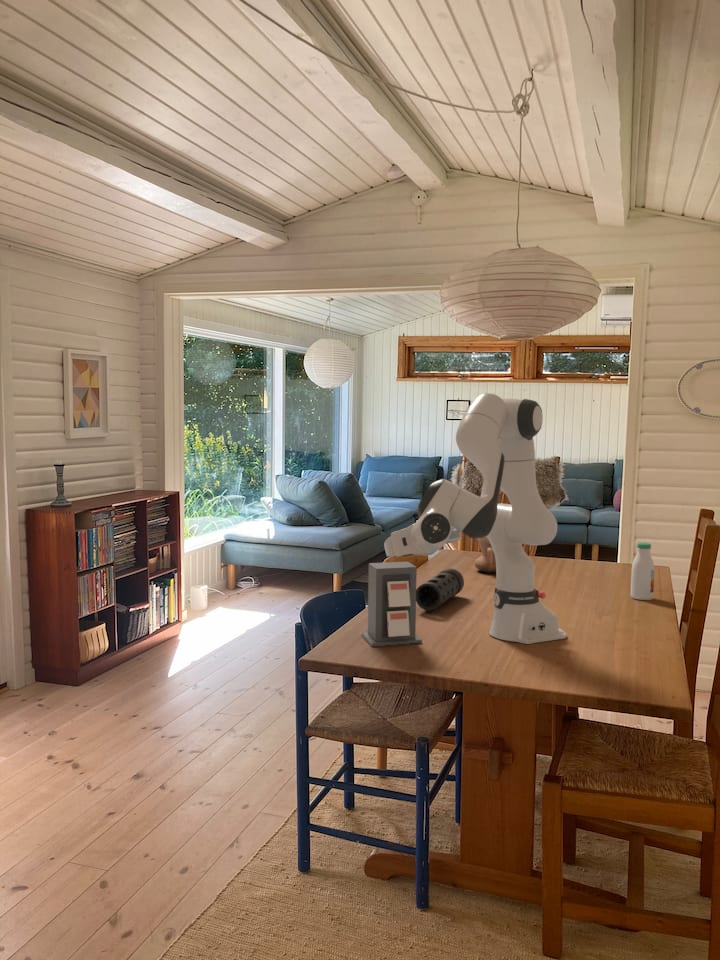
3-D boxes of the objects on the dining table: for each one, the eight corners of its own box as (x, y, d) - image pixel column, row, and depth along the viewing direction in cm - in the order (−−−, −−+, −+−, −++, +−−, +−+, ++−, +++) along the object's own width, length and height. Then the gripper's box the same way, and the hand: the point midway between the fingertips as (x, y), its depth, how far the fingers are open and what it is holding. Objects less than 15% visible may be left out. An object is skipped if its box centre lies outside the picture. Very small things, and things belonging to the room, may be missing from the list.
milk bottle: (645, 601, 274) (648, 546, 273) (626, 597, 280) (628, 542, 279) (657, 598, 279) (659, 543, 277) (637, 594, 285) (640, 540, 283)
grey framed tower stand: (409, 632, 234) (411, 560, 232) (421, 643, 223) (423, 567, 221) (361, 635, 230) (362, 562, 228) (371, 646, 219) (372, 570, 217)
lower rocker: (409, 635, 221) (407, 610, 222) (410, 635, 219) (409, 610, 220) (387, 636, 219) (386, 611, 220) (389, 636, 218) (387, 611, 219)
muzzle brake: (413, 612, 258) (414, 581, 257) (440, 594, 283) (440, 566, 282) (441, 615, 254) (441, 584, 253) (465, 597, 279) (466, 568, 278)
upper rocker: (409, 606, 220) (407, 581, 221) (411, 605, 218) (409, 580, 220) (388, 607, 218) (386, 582, 220) (389, 606, 217) (387, 581, 218)
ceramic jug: (478, 566, 334) (479, 533, 333) (512, 568, 329) (513, 535, 328) (470, 574, 317) (470, 540, 316) (505, 577, 312) (506, 542, 311)
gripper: (462, 517, 199) (453, 525, 213) (385, 533, 197) (380, 541, 211) (468, 540, 198) (458, 548, 212) (390, 558, 196) (385, 564, 209)
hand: (419, 544), depth 211 cm, fingers closed
